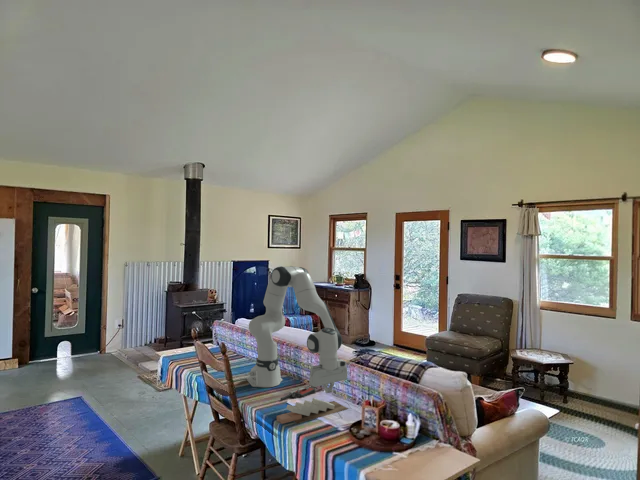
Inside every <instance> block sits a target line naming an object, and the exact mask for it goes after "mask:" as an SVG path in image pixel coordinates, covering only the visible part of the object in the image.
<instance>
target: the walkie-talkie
mask: <svg viewBox="0 0 640 480" xmlns="http://www.w3.org/2000/svg"><path fill="white" fill-rule="evenodd" d="M315 388H316V387H313V386H305V387H300V388H298V389H294V390H293V391H290V392H289V394H286V395H285V396H282V397H281V398H280V400H282V401H283V400H285V399H287V398H289V397H292V398H294V399H302V398H305V397H308V396H310V395H315V394H316V389H315Z"/></svg>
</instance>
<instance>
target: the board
mask: <svg viewBox="0 0 640 480" xmlns="http://www.w3.org/2000/svg"><path fill="white" fill-rule="evenodd" d="M328 402H329V403H331V404H333V405H335V407H334V409H330V408H327V410H326V412H325V411H321V410H319V411H318V414H316V413H312V412H311V413H310V416H306V415H302V418H301V419H298V420H294V421H293V422H295V424H297V425H298V424H301V423H305V422H308V421H311V420H315V419H319V418H322V417H326V416H329V415H333V414H336V413H339V412H343V411H346V410H349V408H348V407H346V406H344V405H343V404H340V403H339V402H337V401H334V400H332V401H328Z"/></svg>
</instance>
